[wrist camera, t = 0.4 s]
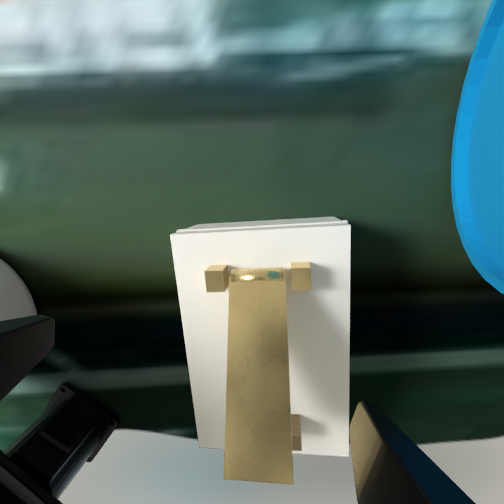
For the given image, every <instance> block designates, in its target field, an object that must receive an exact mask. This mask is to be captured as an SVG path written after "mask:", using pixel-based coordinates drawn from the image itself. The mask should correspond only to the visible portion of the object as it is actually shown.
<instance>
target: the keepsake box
mask: <svg viewBox="0 0 504 504" xmlns="http://www.w3.org/2000/svg"><path fill="white" fill-rule="evenodd" d="M170 238H171V245H172V252H173V260H174V267H175V274H176V281H177V289H178V296H179V303H180V311H181V318H182V325H183V332H184V340H185V347H186V354H187V362H188V369H189V376H190V383H191V391H192V398H193V405H194V413H195V420H196V427H197V434H198V442H199V447H200V448H213V449H225V418H226V381H227V345H228V309H229V277H231V271H232V269H252V268H282V267H283V268H284V275H286V295H287V322H288V349H289V376H290V403H291V430H292V453H293V454H309V455H327V456H342V457H348V456H349V361H350V249H351V225H349V224H348V221H347V220H340V219H338V218H336V217H317V218H299V219H282V220H265V221H247V222H230V223H213V224H198V225H195V226H192V227H190V228H187V229H178V230H177V232H176V233H173V234H171V235H170Z"/></svg>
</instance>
